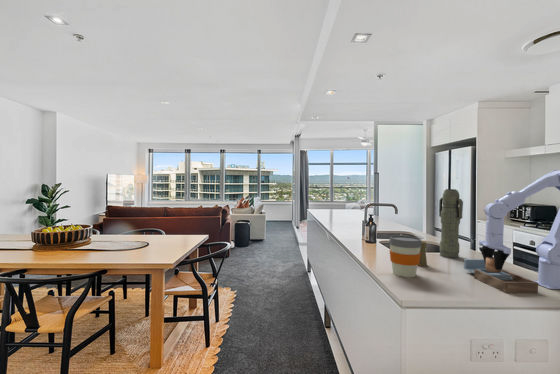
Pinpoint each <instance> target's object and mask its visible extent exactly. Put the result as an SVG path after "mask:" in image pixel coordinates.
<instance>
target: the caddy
mask: <svg viewBox="0 0 560 374" xmlns="http://www.w3.org/2000/svg"><path fill="white" fill-rule="evenodd" d="M501 271H502V272H504V273H507V274H509V275H510V277H511V278H513V280H500V279H498V278H495V277H493V276H491V275H488V274H486V273H484V272H481V271H479V270H477V269H474V273H473V279H476V280H477V281H480V282H482V283H484V284H486V285H488V286H491V287H492V288H494V289H497V290H498V291H501V292H503V293H504V294H505V293H507V294H508V293H509V294H510V293H511V294H513V293H514V294H517V293H521V294H523V293H528V294H531V293H532V294H535V293H536V294H537V293H539V284H538V283H537V282H535V281H536V280H531V279H530V278H526V277H523V276H521V275H518V274H516V273H513V272H510V271H508V270H505V269H503V268H502V270H501Z"/></svg>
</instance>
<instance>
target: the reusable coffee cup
mask: <svg viewBox="0 0 560 374" xmlns="http://www.w3.org/2000/svg"><path fill="white" fill-rule="evenodd" d="M388 240H389V241H388V244H389V248H390V249H389V258H390V262H391V266H392V274H393V273H394V275H396V276H398V277H402V276H403V278H414V277H416V276H417V271H418V267H419V266H418V264H419V260H420V254H421V253H420V248H421V246H422V245H421V241H422V239H421V238H419V237H417V236H412V235H399V234H398V235H391V236H389V239H388Z"/></svg>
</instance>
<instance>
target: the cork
mask: <svg viewBox="0 0 560 374" xmlns="http://www.w3.org/2000/svg"><path fill="white" fill-rule="evenodd" d="M421 245H422V246H421V248H420V253H421V254H420V260H419V264H418V266H417V267H427V266H428V262H427V251H426V249H427V247H428V244H427V242H426V241H424V240H421Z"/></svg>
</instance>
